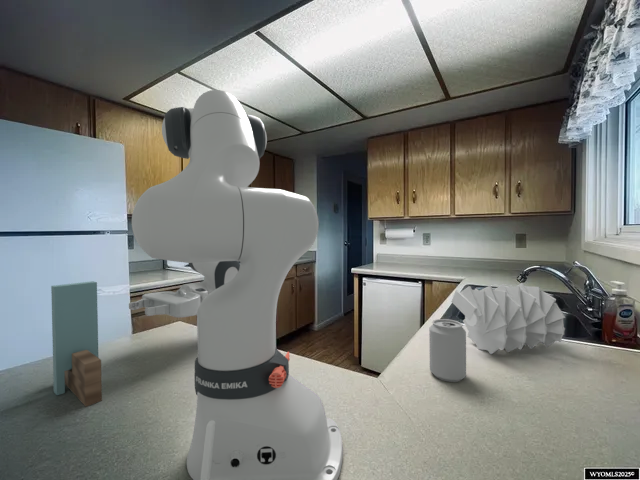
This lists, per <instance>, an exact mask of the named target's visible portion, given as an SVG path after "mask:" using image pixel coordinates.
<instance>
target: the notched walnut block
mask: <svg viewBox="0 0 640 480" xmlns="http://www.w3.org/2000/svg"><path fill="white" fill-rule="evenodd" d="M98 357H99V356H98ZM98 357H96V356H95V355H94V354H92V353H91V352H89V351H88V350H83V351H80V352H76V353H72V369H70V370H66V371H64V373H65V386H66V387H67V388H68V389H69V390H70V391H71V392H72V393H73V395H74V396H75V397H76V398H77V399H78V400H79V401H80V402H81V403H82V404H83V405H84V407H85V408H86V407H89V406H92V405H94V404H97V403H100V402H101V401H103V396H102V395H103V394H102V392H103V390H102V382H103V381H102V359H101V358H98Z"/></svg>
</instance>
